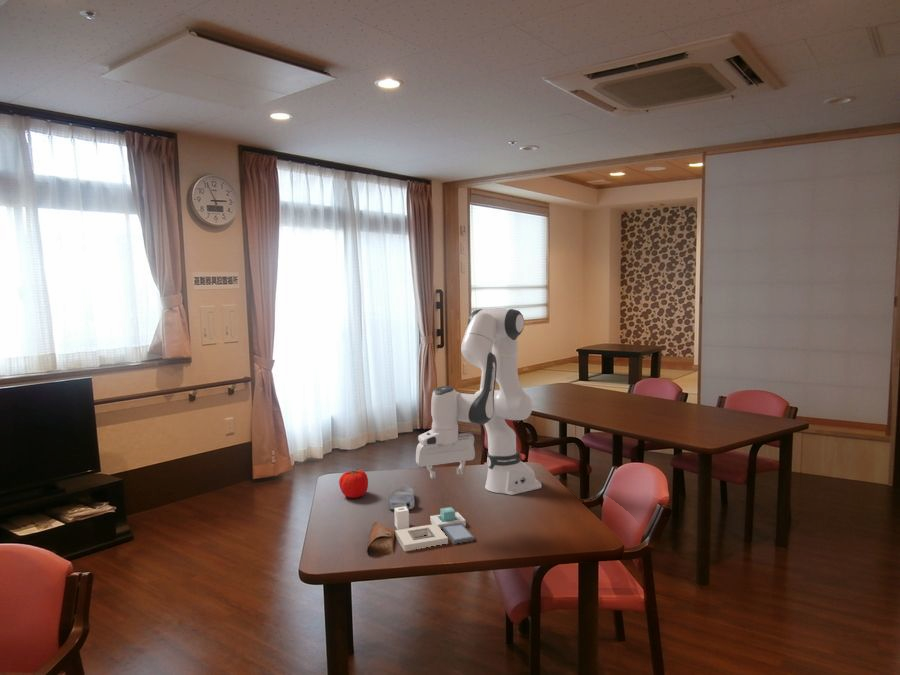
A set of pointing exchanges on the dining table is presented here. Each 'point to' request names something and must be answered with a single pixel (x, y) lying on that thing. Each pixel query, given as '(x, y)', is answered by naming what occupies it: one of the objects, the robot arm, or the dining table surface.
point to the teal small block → (447, 514)
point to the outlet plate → (432, 539)
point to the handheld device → (401, 498)
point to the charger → (401, 517)
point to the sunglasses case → (381, 540)
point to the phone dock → (454, 528)
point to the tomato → (354, 483)
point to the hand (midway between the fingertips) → (446, 475)
